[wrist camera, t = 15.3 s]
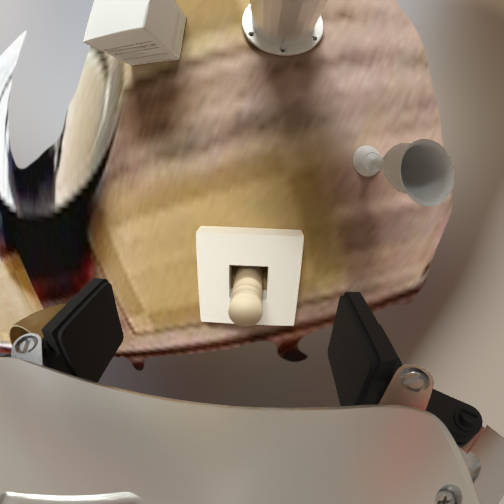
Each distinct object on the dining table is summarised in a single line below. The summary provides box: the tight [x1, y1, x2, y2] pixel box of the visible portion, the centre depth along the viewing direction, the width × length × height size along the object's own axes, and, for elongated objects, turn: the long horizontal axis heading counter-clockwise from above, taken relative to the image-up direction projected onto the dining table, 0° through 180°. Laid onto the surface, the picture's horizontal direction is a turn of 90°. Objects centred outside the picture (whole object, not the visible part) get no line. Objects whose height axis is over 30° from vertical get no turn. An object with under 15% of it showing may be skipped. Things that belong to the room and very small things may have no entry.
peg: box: [228, 265, 262, 327], centre depth 41 cm, size 4×4×12 cm
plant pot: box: [9, 304, 66, 345], centre depth 45 cm, size 15×15×16 cm
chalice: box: [353, 139, 454, 207], centre depth 31 cm, size 7×7×18 cm
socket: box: [196, 226, 304, 326], centre depth 45 cm, size 16×16×4 cm
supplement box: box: [83, 0, 186, 66], centre depth 25 cm, size 9×9×15 cm
